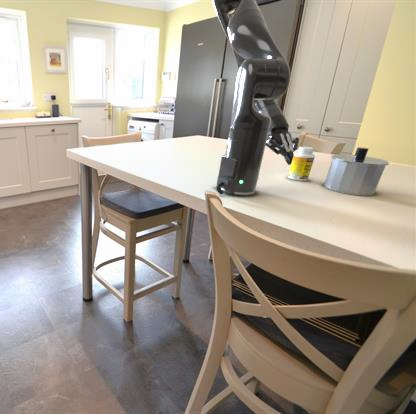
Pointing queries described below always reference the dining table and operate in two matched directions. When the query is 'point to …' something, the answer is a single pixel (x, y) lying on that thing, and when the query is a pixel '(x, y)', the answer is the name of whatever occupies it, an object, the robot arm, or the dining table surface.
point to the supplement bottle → (301, 164)
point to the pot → (353, 178)
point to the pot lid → (360, 158)
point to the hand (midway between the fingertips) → (292, 163)
